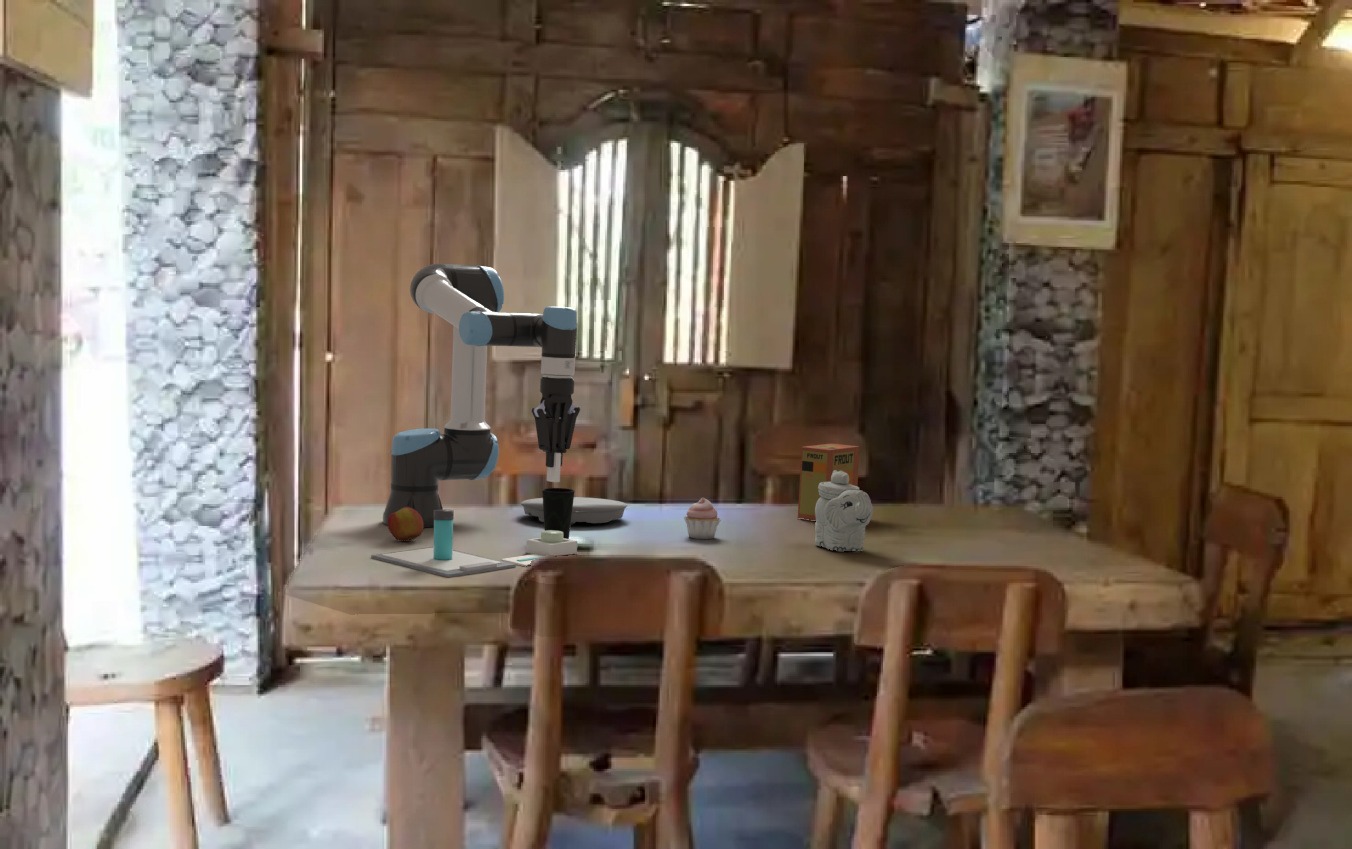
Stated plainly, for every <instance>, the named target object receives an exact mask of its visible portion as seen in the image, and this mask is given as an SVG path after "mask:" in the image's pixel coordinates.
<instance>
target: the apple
mask: <svg viewBox="0 0 1352 849" xmlns="http://www.w3.org/2000/svg"><path fill="white" fill-rule="evenodd" d="M387 528H388V531H389V533H390V534H391V535H392V537H393V538H394V539H396V540H397V541H399V542H400V541H401V542H409V541H412V540H414V539H417V538H418V537H420V536H421V535H422V533H423V531H424V527H423V520H422V517H421V516H420V514H419V513H418V512H417V511H416V510H414V509H412V508H410V507H404V508H402V509H400V510H398V511H397V512H394V513H392V514H391V515H390V516H389V518H388V525H387Z"/></svg>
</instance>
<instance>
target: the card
mask: <svg viewBox="0 0 1352 849" xmlns="http://www.w3.org/2000/svg"><path fill="white" fill-rule="evenodd" d="M538 557H544V556H542V555H537V554H526V555H521V556H520V555H519V556H514V557H513V556H511V557H506V558H500V561H504V562H508V563H512V564H516V566H522V567H526V566H527V565H528V564H530V563H531V561H532V560H535V559H537V558H538ZM527 567H528V566H527Z"/></svg>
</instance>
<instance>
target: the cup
mask: <svg viewBox="0 0 1352 849" xmlns="http://www.w3.org/2000/svg"><path fill="white" fill-rule="evenodd" d="M541 494H542V498H543V512H544V522H543V526H544V529H543V530H544V531H547V530H554V531H562V532H563V538H565V539H570V532H571V531H570V530H571V525H570V524H571V516H572V508H573V500H574V497H575V490H574V489H572V488H564V487H548V488H547V487H546V488H542V492H541Z"/></svg>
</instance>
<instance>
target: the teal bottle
mask: <svg viewBox="0 0 1352 849" xmlns="http://www.w3.org/2000/svg"><path fill="white" fill-rule="evenodd" d="M454 513H455V512H454V509H443V510H434V527H433V547H434V550H433V559H440V560H446V559H452V554H453V550H454V547H453V546H454V518H455V517H454Z"/></svg>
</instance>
